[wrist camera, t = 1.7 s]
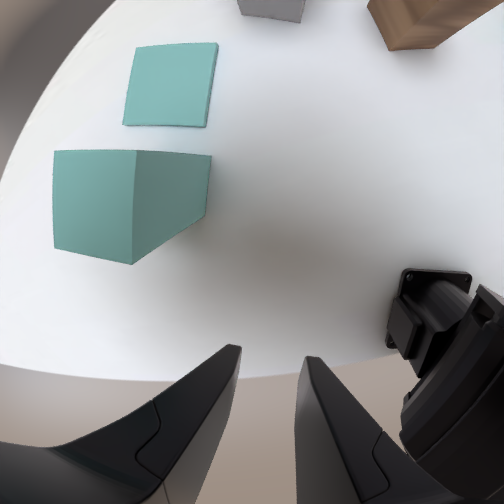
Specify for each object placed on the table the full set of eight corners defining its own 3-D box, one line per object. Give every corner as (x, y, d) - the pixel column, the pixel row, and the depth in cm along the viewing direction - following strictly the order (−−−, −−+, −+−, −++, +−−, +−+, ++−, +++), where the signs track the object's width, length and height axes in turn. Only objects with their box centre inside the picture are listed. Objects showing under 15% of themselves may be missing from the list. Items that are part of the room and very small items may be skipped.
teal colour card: (218, 45, 16) (216, 42, 15) (205, 127, 18) (203, 126, 17) (139, 50, 16) (136, 47, 16) (126, 125, 18) (122, 124, 17)
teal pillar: (211, 155, 18) (136, 150, 9) (204, 215, 19) (132, 264, 10) (155, 152, 18) (54, 150, 9) (150, 208, 20) (54, 248, 10)
